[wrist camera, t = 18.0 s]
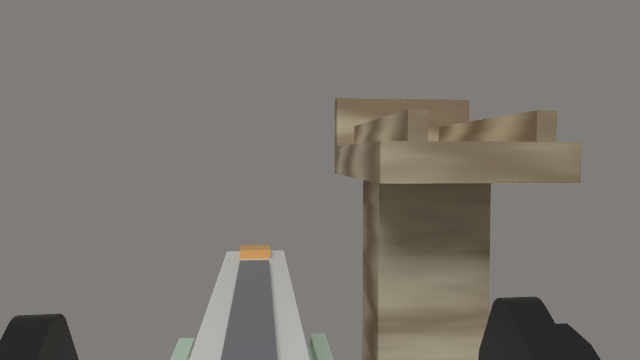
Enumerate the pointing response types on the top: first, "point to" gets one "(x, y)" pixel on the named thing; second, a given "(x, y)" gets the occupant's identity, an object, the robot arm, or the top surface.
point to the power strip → (252, 310)
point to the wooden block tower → (435, 214)
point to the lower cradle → (317, 352)
